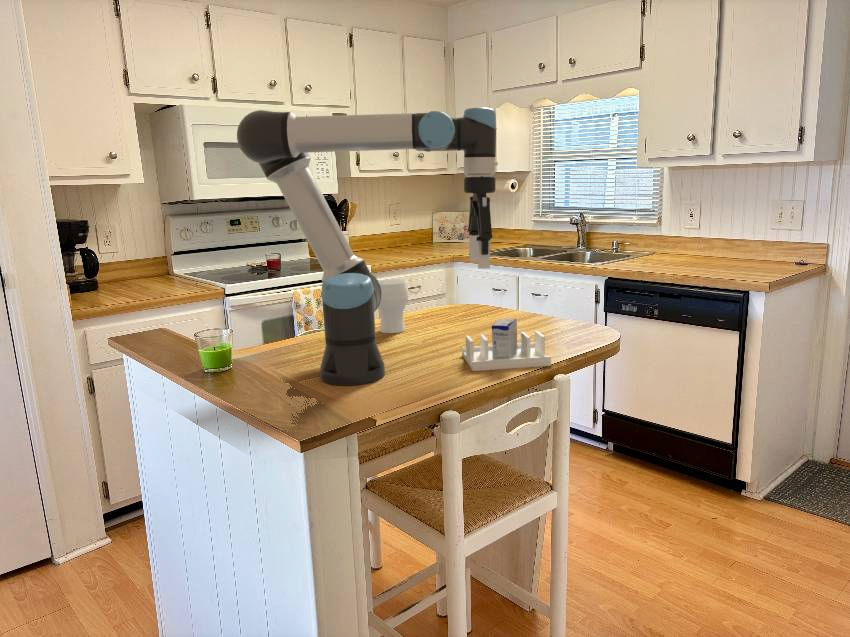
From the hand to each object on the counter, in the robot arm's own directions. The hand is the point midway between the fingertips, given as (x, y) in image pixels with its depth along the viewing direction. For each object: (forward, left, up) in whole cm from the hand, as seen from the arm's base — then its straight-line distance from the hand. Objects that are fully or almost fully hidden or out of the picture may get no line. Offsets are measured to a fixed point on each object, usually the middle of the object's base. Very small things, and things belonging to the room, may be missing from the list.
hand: (479, 264), depth 157 cm
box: (+5, -5, -23) cm, 24 cm away
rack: (+5, -5, -24) cm, 24 cm away
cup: (-20, +34, -24) cm, 46 cm away
